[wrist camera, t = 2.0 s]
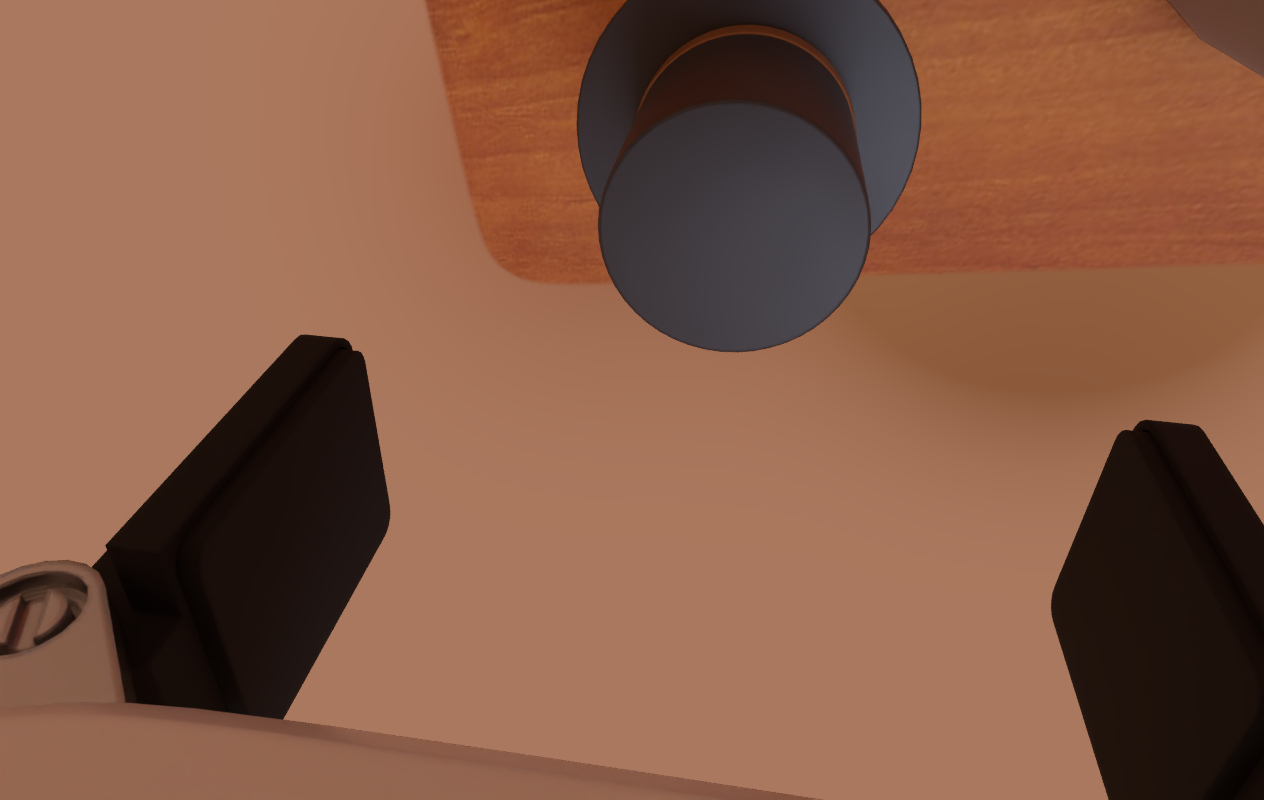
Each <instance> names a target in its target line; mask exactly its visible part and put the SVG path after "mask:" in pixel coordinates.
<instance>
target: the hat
mask: <svg viewBox="0 0 1264 800" xmlns="http://www.w3.org/2000/svg"><path fill="white" fill-rule="evenodd" d="M920 131H921V97H920V89H919V82H918V77H917V74H916V70H915V66H914V63H913V59H912V56H911V54H910V52H909V49H908V47H907V45H906V43H905V40H904V38H903V36H902V34H901V32H900V30H899V28H898V27H897V25H896V23H895V22H894V20H893V19H892V17H891V15H890V14H889V12H888V11H887V9H886V8H885V7H884V6H883V5H882V4H881V3H880V1H879V0H627V1H626V2H625V3H624V5H623V6H622V7H621V8H620V9H619V10H618V12H617V13H616V14H615V15H614V16H613V18H612V19H611V21H610V22H609V24H608V25H607V27H606V28H605V30H604V31H603V33H602V34H601V36H600V37H599V39H598V41H597V43H596V45H595V48H594V50H593V52H592V54H591V56H590V58H589V61H588V64H587V67H586V70H585V73H584V76H583V79H582V83H581V88H580V94H579V99H578V109H577V136H578V148H579V152H580V157H581V162H582V167H583V170H584V173H585V176H586V179H587V182H588V185H589V187H590V189H591V191H592V193H593V196H594V198H595V200H596V202H597V204H598V206H599V218H598V232H599V243H600V248H601V253H602V257H603V260H604V263H605V266H606V269H607V271H608V274H609V275H610V277H611V279H612V281H613V283H614V285H615V287H616V288H617V290H618V291H619V293H620V294H621V296H622V297H623V299H624V300H625V301H626V302H627V303H628V305H629V306H630V307H631V308H632V309H633V310H634V312H636V313H637V314H638V315H639V316H640V317H641V318H642V319H643V320H645V321H646V322H647V323H648V324H650V325H651V326H653V327H654V328H655V329H657V330H658V331H660V332H662V333H664V334H666V335H667V336H669V337H671V338H673V339H675V340H677V341H680V342H683V343H685V344H688V345H691V346H695V347H698V348H702V349H707V350H713V351H720V352H747V351H756V350H761V349H766V348H771V347H774V346H777V345H781V344H784V343H786V342H789V341H791V340H793V339H795V338H797V337H800V336H802V335H803V334H805V333H807V332H808V331H810V330H812V329H814V328H815V327H816V326H817V325H819V324H820V323H821V322H823V321H824V320H825V319H827V318H828V317H829V316H830V315H831V314H832V313H833V312H834V311H835V310H836V309H837V308H838V307H839V306H840V304H841V303H842V302H843V301H844V300H845V298H846V297H847V296H848V295H849V293H850V292H851V290H852V288H853V287H854V285H855V283H856V282H857V280H858V278H859V276H860V273H861V271H862V269H863V266H864V264H865V261H866V257H867V253H868V249H869V244H870V236H871V235H872V234H873V233H874V232H875V231H876V230H877V229H878V228H879V227H880V225H881V224H882V223H883V221H884V220H885V219H886V217H887V216H888V215H889V213H890V212H891V211H892V209H893V208H894V206H895V204H896V202H897V201H898V199H899V197H900V196H901V194H902V192H903V190H904V188H905V186H906V183H907V181H908V178H909V176H910V174H911V171H912V168H913V165H914V161H915V158H916V154H917V150H918V145H919V138H920Z"/></svg>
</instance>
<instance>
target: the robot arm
mask: <svg viewBox="0 0 1264 800" xmlns="http://www.w3.org/2000/svg"><path fill="white" fill-rule="evenodd" d="M389 520H390V504H389V498H388V492H387V486H386V481H385V475H384V469H383V463H382V457H381V452H380V445H379V440H378V434H377V428H376V422H375V416H374V411H373V405H372V399H371V393H370V387H369V382H368V375H367V370H366V364H365V360H364V357H363V355H362V353H361V352H359V351H353V350H352V347H351V345H350V343H349V341H347V340H346V339H344V338H334V337H323V336H314V335H300V336H299V337H297V338H296V339H295V340H294V341H293V342H292V343H291V344H290V345H289V346H288V347H287V348H286V350H285V351H284V352H283V353H282V354H281V355H280V356H279V357H278V358H277V359H276V361H275V362H274V363H273V364H272V365H271V366H270V367H269V368H268V369H267V370H266V371H265V372H264V373H263V375H262V376H261V377H260V378H259V379H258V380H257V381H256V382H255V383H254V384H253V385H252V387H251V388H250V389H249V390H248V391H247V392H246V393H245V394H244V395H243V396H242V398H241V399H240V400H239V401H238V402H237V403H236V404H235V405H234V406H233V407H232V408H231V410H229V412H228V413H227V414H226V415H225V416H224V417H223V418H222V419H221V420H220V421H219V422H218V424H217V425H216V426H215V427H214V428H213V429H212V430H211V431H210V432H209V433H208V434H207V435H206V437H205V438H204V439H203V440H202V441H201V442H200V443H199V444H198V445H197V446H196V447H195V449H194V450H193V451H192V452H191V453H190V454H189V455H188V456H187V457H186V458H185V459H184V460H183V462H182V463H181V464H180V465H179V466H178V467H177V468H176V469H175V470H174V471H173V472H172V474H171V475H170V476H169V477H168V478H167V479H166V480H165V481H164V482H163V483H162V485H161V486H160V487H159V488H158V489H157V490H156V491H155V492H154V493H153V494H152V495H151V496H150V497H149V499H148V500H147V501H146V502H145V503H144V504H143V505H142V506H141V507H140V508H139V509H138V510H137V512H136V513H135V514H134V515H133V516H132V517H131V518H130V519H129V520H128V521H127V522H126V524H125V525H124V526H123V527H122V528H121V529H120V530H119V532H117V533H116V534H115V536H114V537H113V538H112V539H111V540H110V541H109V542H108V543H107V544H106V545H105V546H106V548H107V551H106V552H105V553H104V555H103V556H102V557H101V558H100V559H99V560H98V561H97V562H96V563H95V564H94V565H93V566H92V568H91V567H90V566H88V565H87V564H84V563H79V562H75V561H69V560H58V561H43V562H39V563H35V564H30V565H26V566H21V567H19V568H16V569H14V570H11V571H9V572H6V573H4V574H1V575H0V800H821V799H814V798H808V797H802V796H794V795H788V794H782V793H776V792H769V791H762V790H756V789H749V788H743V787H736V786H729V785H723V784H716V783H710V782H703V781H697V780H690V779H684V778H678V777H670V776H664V775H658V774H651V773H644V772H638V771H631V770H624V769H618V768H612V767H605V766H598V765H592V764H585V763H578V762H572V761H565V760H558V759H552V758H545V757H539V756H532V755H525V754H518V753H511V752H505V751H498V750H491V749H484V748H477V747H471V746H464V745H456V744H450V743H443V742H436V741H429V740H423V739H416V738H409V737H402V736H395V735H389V734H382V733H375V732H368V731H362V730H354V729H348V728H341V727H334V726H327V725H320V724H312V723H304V722H296V721H289V720H283V719H284V717H285V715H286V713H287V711H288V710H289V708H290V706H291V704H292V702H293V700H294V699H295V697H296V695H297V693H298V692H299V690H300V688H301V686H302V684H303V683H304V681H305V679H306V677H307V675H308V674H309V672H310V670H311V668H312V666H313V665H314V663H315V661H316V659H317V657H318V656H319V654H320V652H321V650H322V648H323V646H324V645H325V643H326V641H327V639H328V638H329V636H330V634H331V632H332V630H333V629H334V627H335V625H336V623H337V621H338V619H339V617H340V616H341V614H342V612H343V610H344V609H345V607H346V605H347V603H348V602H349V600H350V598H351V596H352V594H353V592H354V591H355V589H356V587H357V585H358V583H359V582H360V580H361V578H362V576H363V574H364V572H365V571H366V569H367V567H368V565H369V564H370V562H371V560H372V558H373V556H374V554H375V553H376V551H377V549H378V547H379V545H380V544H381V542H382V540H383V538H384V537H385V534H386V532H387V529H388V526H389ZM1051 601H1052V602H1051V612H1052V618H1053V622H1054V626H1055V628H1056V632H1057V635H1058V638H1059V642H1060V645H1061V648H1062V651H1063V654H1064V658H1065V661H1066V664H1067V667H1068V670H1069V674H1070V677H1071V680H1072V683H1073V686H1074V690H1075V693H1076V696H1077V699H1078V703H1079V706H1080V709H1081V712H1082V715H1083V719H1084V722H1085V725H1086V728H1087V732H1088V735H1089V738H1090V741H1091V744H1092V747H1093V751H1094V754H1095V757H1096V760H1097V764H1098V767H1099V770H1100V773H1101V776H1102V780H1103V783H1104V786H1105V789H1106V793H1107V796H1108V799H1109V800H1264V525H1263V523H1262V522H1261V520H1260V518H1259V517H1258V515H1257V514H1256V512H1255V511H1254V509H1253V508H1252V506H1251V504H1250V503H1249V501H1248V500H1247V498H1246V497H1245V495H1244V493H1243V492H1242V490H1241V489H1240V487H1239V486H1238V484H1237V482H1236V481H1235V479H1234V478H1233V476H1232V475H1231V473H1230V472H1229V470H1228V469H1227V467H1226V465H1225V464H1224V462H1223V461H1222V459H1221V458H1220V456H1219V454H1218V453H1217V451H1216V450H1215V448H1214V447H1213V445H1212V444H1211V442H1210V440H1209V439H1208V437H1207V436H1206V434H1205V433H1204V431H1203V430H1202V429H1201V428H1200V427H1199V426H1196V425H1192V424H1182V423H1172V422H1162V421H1152V420H1144V421H1140V422H1139V423H1138V424H1137V425H1136V426H1135V428H1134V429H1133V431H1130V430H1124V431H1122V432H1120V433H1119V435H1118V436H1117V438H1116V440H1115V442H1114V444H1113V447H1112V449H1111V452H1110V454H1109V457H1108V459H1107V461H1106V463H1105V466H1104V468H1103V471H1102V473H1101V476H1100V478H1099V480H1098V483H1097V485H1096V488H1095V490H1094V493H1093V495H1092V497H1091V500H1090V502H1089V505H1088V507H1087V510H1086V512H1085V514H1084V517H1083V519H1082V522H1081V524H1080V527H1079V529H1078V531H1077V534H1076V536H1075V539H1074V541H1073V543H1072V546H1071V548H1070V551H1069V553H1068V556H1067V558H1066V560H1065V563H1064V565H1063V568H1062V570H1061V572H1060V575H1059V577H1058V580H1057V582H1056V585H1055V587H1054V590H1053V594H1052V600H1051Z"/></svg>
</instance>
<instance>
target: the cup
mask: <svg viewBox="0 0 1264 800" xmlns="http://www.w3.org/2000/svg"><path fill="white" fill-rule="evenodd" d="M1167 1H1168V2H1169V3H1170V4H1171V5H1172V6H1173V8H1174V9H1175V10H1176V11H1177V12H1178V13H1179V15H1180V16H1181V17H1182V18H1183V19H1184V20H1185V22H1186V23H1187V24H1188V25H1189V26H1190V27H1191V29H1192V30H1193V31H1194V32H1195V33H1196V34H1197V35H1198V37H1199V38H1200V39H1201V40H1203V41H1204V42H1206V43H1208V44H1209V45H1211V46H1213V47H1214V48H1216V49H1218V50H1219V51H1221V52H1223V53H1224V54H1226V55H1228V56H1229V57H1231V58H1232V59H1234V60H1236V61H1237V62H1239V63H1241V64H1242V65H1244V66H1246V67H1247V68H1249V69H1251V70H1252V71H1254V72H1256V73H1257V74H1259V75H1261V76H1262V77H1264V0H1167Z"/></svg>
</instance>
